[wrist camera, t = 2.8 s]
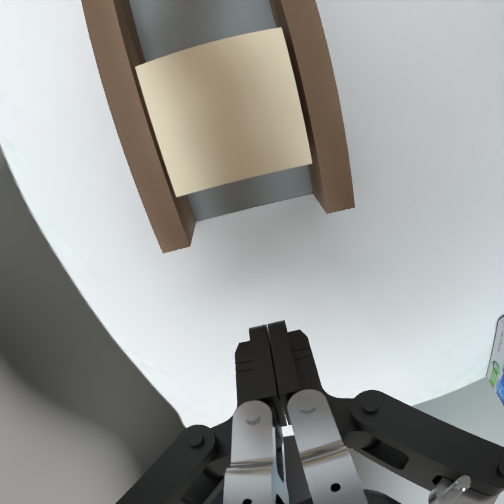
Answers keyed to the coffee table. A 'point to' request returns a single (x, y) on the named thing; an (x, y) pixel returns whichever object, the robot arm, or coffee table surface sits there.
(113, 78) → the walnut chute
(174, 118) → the maple block
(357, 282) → the coffee table surface
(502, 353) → the string lights box
